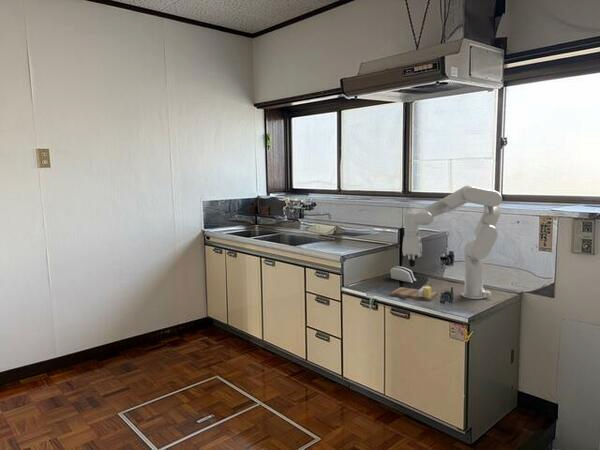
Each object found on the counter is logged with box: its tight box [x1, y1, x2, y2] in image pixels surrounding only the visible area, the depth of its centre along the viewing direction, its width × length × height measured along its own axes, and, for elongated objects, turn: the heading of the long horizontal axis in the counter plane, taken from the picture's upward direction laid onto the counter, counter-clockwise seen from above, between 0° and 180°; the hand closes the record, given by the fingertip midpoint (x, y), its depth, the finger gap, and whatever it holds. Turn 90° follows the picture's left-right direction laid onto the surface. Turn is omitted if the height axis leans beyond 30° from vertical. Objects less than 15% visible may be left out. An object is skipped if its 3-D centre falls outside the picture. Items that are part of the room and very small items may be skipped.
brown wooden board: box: [390, 286, 440, 302], centre depth 261 cm, size 23×14×2 cm, turn 55°
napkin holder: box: [389, 266, 417, 283], centre depth 294 cm, size 17×5×10 cm, turn 39°
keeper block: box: [423, 285, 432, 298], centre depth 253 cm, size 3×4×5 cm
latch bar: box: [418, 284, 430, 297], centre depth 257 cm, size 14×3×3 cm, turn 150°
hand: (412, 266), depth 257 cm, fingers closed
